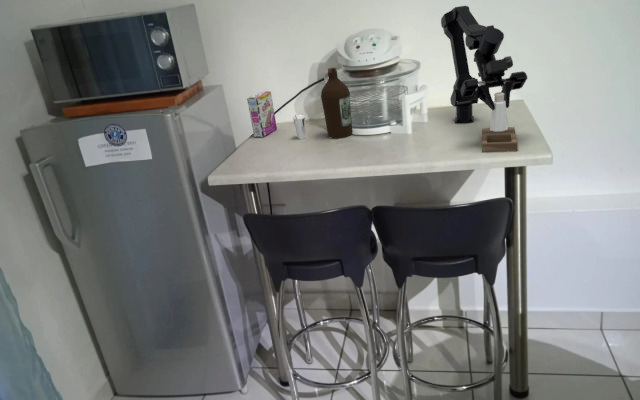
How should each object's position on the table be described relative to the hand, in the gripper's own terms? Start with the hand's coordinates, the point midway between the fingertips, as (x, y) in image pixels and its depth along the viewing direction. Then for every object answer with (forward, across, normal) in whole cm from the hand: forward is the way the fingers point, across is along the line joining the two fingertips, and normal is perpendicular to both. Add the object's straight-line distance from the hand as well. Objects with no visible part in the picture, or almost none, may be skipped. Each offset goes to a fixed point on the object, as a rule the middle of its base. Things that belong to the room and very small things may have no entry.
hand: (500, 108), depth 145 cm
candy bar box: (-31, -75, +50) cm, 95 cm away
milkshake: (-21, -60, +39) cm, 75 cm away
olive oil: (-18, -46, +37) cm, 61 cm away
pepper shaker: (+4, 0, +6) cm, 7 cm away
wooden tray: (+6, +1, +11) cm, 13 cm away
